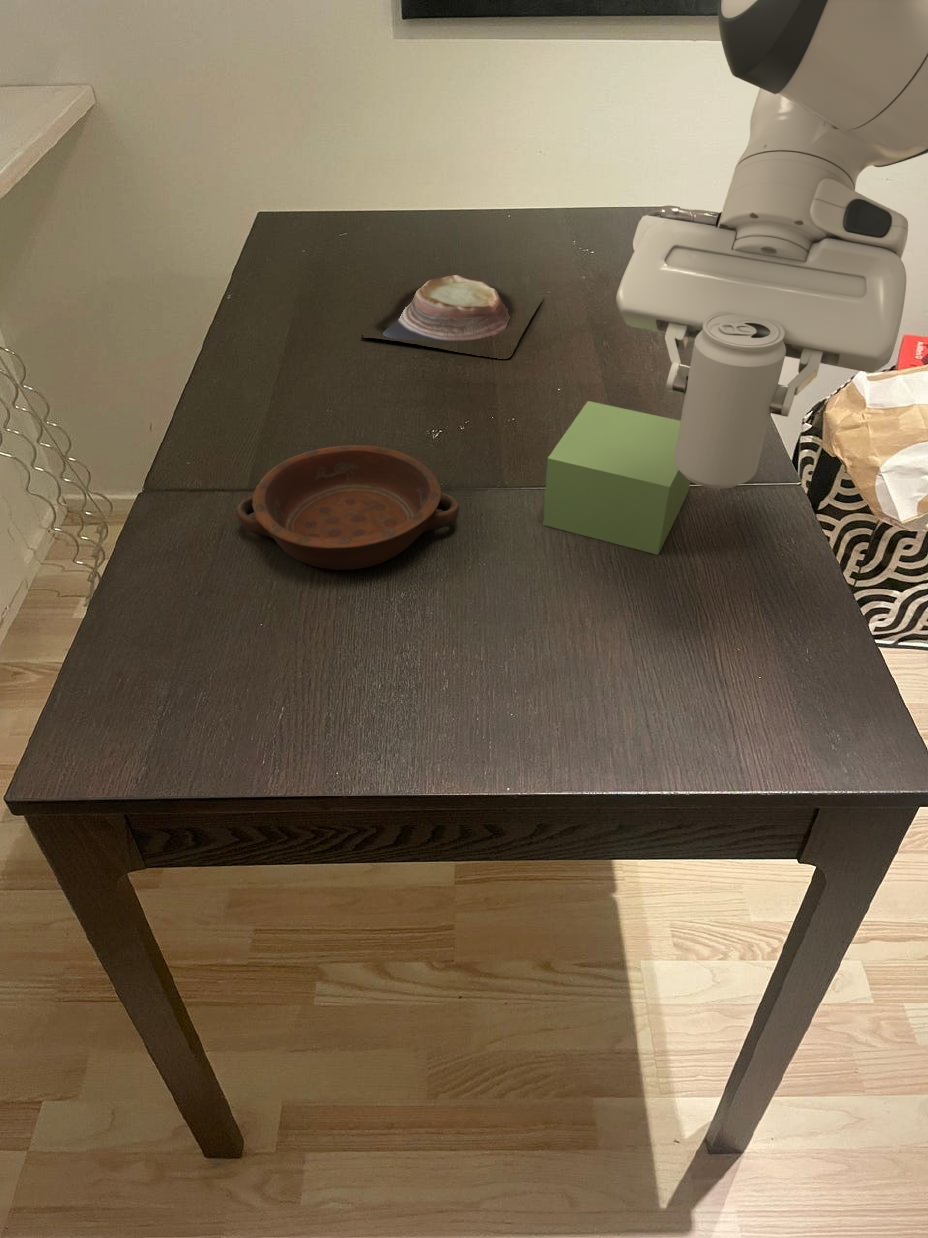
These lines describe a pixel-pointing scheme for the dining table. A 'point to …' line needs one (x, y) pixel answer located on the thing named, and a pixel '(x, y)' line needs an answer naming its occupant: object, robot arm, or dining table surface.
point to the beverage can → (728, 400)
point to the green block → (616, 478)
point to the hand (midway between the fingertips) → (726, 402)
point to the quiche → (451, 312)
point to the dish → (347, 506)
